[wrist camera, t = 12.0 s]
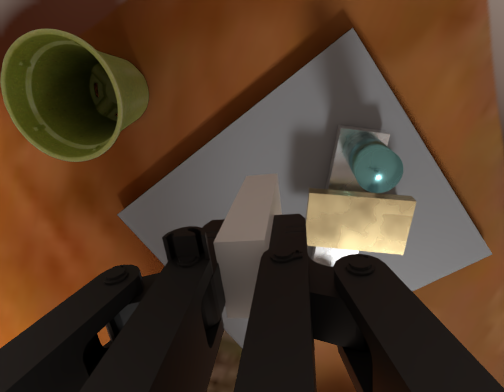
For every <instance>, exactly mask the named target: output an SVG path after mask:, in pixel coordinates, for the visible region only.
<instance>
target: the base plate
mask: <svg viewBox="0 0 504 392" xmlns="http://www.w3.org/2000/svg"><path fill="white" fill-rule="evenodd" d="M338 125H344V126H352V127H359V128H367V129H375V130H383V131H386V132H388V133H389V134H390V137H389V141H388V145H387V146H388V147H389V148H390V149H391V150H392V151H393V152H394V153H396V154H397V155H398V156H399V157H400V159H401V161H402V163H403V175H402V178H401V180H400V181H399V183H398V184H397V185H396V186H395V187H394V188H392V189H391V190H389V191H386V192H383V193H380V194H393V195H406V196H412V197H413V198H414V199H415V200H416V201H417V202H416V206H415V210H414V214H413V218H412V222H411V226H410V230H409V234H408V238H407V242H406V246H405V250H404V254H403V255H399V254H388V253H378V252H368V251H359V252H358V254H366V255H370V256H373V257H376V258H379V259H380V260H381V261H383V262H384V263H386V265H387V266H388V267H389V268H390V269H391V270H392V271H393V272H394V273H395V274H396V275H397V276H398V277H399V278H400V279H401V280H402V281H403V282H404V284H405V285H406V286H407V287H408V288H409V289H410V290H411V291H414V290H416V289H418V288H421V287H423V286H425V285H427V284H429V283H431V282H433V281H436V280H438V279H440V278H442V277H444V276H446V275H449V274H451V273H453V272H455V271H457V270H459V269H462V268H464V267H466V266H468V265H470V264H472V263H474V262H477V261H479V260H481V259H483V258H485V257H487V256H490V255H492V253H491V251H490V250H489V248H488V246H487V245H486V243H485V241H484V240H483V238H482V237H481V235H480V233H479V232H478V230H477V228H476V227H475V225H474V224H473V222H472V220H471V219H470V217H469V215H468V214H467V212H466V211H465V209H464V207H463V206H462V204H461V203H460V201H459V199H458V198H457V196H456V194H455V193H454V191H453V190H452V188H451V186H450V185H449V183H448V181H447V180H446V178H445V177H444V175H443V173H442V172H441V170H440V168H439V167H438V165H437V164H436V162H435V160H434V159H433V157H432V155H431V154H430V152H429V151H428V149H427V147H426V146H425V144H424V143H423V141H422V139H421V138H420V136H419V134H418V133H417V131H416V130H415V128H414V126H413V125H412V123H411V121H410V120H409V118H408V117H407V115H406V113H405V112H404V110H403V108H402V107H401V105H400V104H399V102H398V100H397V99H396V97H395V95H394V94H393V92H392V91H391V89H390V87H389V86H388V84H387V82H386V81H385V79H384V78H383V76H382V74H381V73H380V71H379V70H378V68H377V66H376V65H375V63H374V61H373V60H372V58H371V57H370V55H369V53H368V52H367V50H366V48H365V47H364V45H363V44H362V42H361V40H360V39H359V37H358V35H357V34H356V32H355V31H354V29H353V28H352V29H350V30H349V31H348V32H346V33H345V34H344V35H343V36H341V37H340V38H339V39H338V40H336V41H335V42H334V43H333V44H331V45H330V46H329V47H328V48H326V49H325V50H324V51H322V52H321V53H320V54H319V55H317V56H316V57H315V58H314V59H312V60H311V61H310V62H309V63H307V64H306V65H305V66H304V67H302V68H301V69H300V70H299V71H297V72H296V73H295V74H294V75H292V76H291V77H290V78H289V79H287V80H286V81H285V82H283V83H282V84H281V85H280V86H278V87H277V88H276V89H275V90H273V91H272V92H271V93H270V94H268V95H267V96H266V97H265V98H263V99H262V100H261V101H260V102H258V103H257V104H256V105H255V106H253V107H252V108H251V109H249V110H248V111H247V112H246V113H244V114H243V115H242V116H241V117H239V118H238V119H237V120H236V121H234V122H233V123H232V124H231V125H229V126H228V127H227V128H226V129H224V130H223V131H222V132H221V133H219V134H218V135H217V136H215V137H214V138H213V139H212V140H210V141H209V142H208V143H207V144H205V145H204V146H203V147H202V148H200V149H199V150H198V151H197V152H195V153H194V154H193V155H192V156H190V157H189V158H188V159H187V160H185V161H184V162H183V163H181V164H180V165H179V166H178V167H176V168H175V169H174V170H173V171H171V172H170V173H169V174H168V175H166V176H165V177H164V178H163V179H161V180H160V181H159V182H158V183H156V184H155V185H154V186H153V187H151V188H150V189H149V190H147V191H146V192H145V193H144V194H142V195H141V196H140V197H139V198H137V199H136V200H135V201H134V202H132V203H131V204H130V205H129V206H127V207H126V208H125V209H124V210H122V211H121V212H120V213H119V214H117V215H118V216H119V217H120V218H121V219H122V221H123V222H124V223H125V224H126V225H127V226H128V227H129V228H130V229H131V230H132V231H133V232H134V233H135V234H136V235H137V237H138V238H139V239H140V240H141V241H142V242H143V243H144V244H145V245H146V246H147V247H148V248H149V249H150V250H151V251H152V253H153V254H154V255H155V256H156V257H157V258H158V259H159V260H160V261H161V262H162V263H163V264H164V265H166V264H167V262H168V260H167V256H166V252H165V248H164V244H163V240H162V237H163V236H164V235H165V234H167V233H168V232H170V231H173V230H175V229H178V228H182V227H188V226H198V227H201V228H203V226H204V225H206V224H207V223H208V222H210V221H211V220H220V219H225V218H226V216H227V214H228V212H229V210H230V208H231V206H232V204H233V202H234V200H235V198H236V196H237V194H238V192H239V190H240V188H241V186H242V184H243V182H244V180H245V178H246V176H253V175H265V174H277V173H278V183H279V193H280V202H281V212H282V215H284V214H301V215H302V216H303V217H304V218H305V219H306V211H307V201H308V192H309V188H316V189H325V188H326V184H327V179H328V174H329V169H330V164H331V159H332V155H333V150H334V145H335V140H336V135H337V130H338ZM313 247H314V246H308V256H309V257H310V258H311V256H312V251H313ZM222 318H223V323H224V329H225V330H226V332H227V333H228V334H229V335H230V336H231V337H232V338H233V339H234V340H235V341H236V342H237V343H238V344H239V345H240V346H241V348H242V349H243V344H244V339H245V334H246V329H247V324H248V319H249V318H227V313H226V307H225V306H224V309H223V313H222Z"/></svg>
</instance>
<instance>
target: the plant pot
mask: <svg viewBox="0 0 504 392" xmlns="http://www.w3.org/2000/svg"><path fill="white" fill-rule="evenodd" d="M95 83H97V84H98V95H99V97H97V96H96V94H95V90H94V84H95ZM1 90H2V95H3V99H4V103H5V106H6V109H7V111H8V113H9V114H10V117H11V119H12V121H13V123H14V124H15V126H16V127H17V129H18V130H19V131H20V132H21V133H22V134H23V136H24V137H25V138H26V139H27V140H28V141H29V142H30V143H31V144H32V145H34V146H35V147H36V148H38V149H39V150H40V151H42V152H44V153H46V154H47V155H49V156H51V157H54V158H57V159H60V160H64V161H70V162H81V161H87V160H91V159H94V158H96V157H98V156H100V155H102V154H103V153H105V152H106V151H107V150H108V149H110V148H111V147H112V145H113V144H114V143H115V141H116V140H117V138H118V136H119V134H120V131H122V130H123V129H124V128H126V127H127V126H129V125H130V124H132V123H133V122H134V121H136V120H137V119H139V118H140V117H141V116H142V114H143V113H144V111H145V110H146V108H147V105H148V101H149V91H148V86H147V83H146V80H145V78H144V76H143V75H142V74H141V73H140V71H139V70H138V69H137V68H136V67H135V66H134V65H133V64H132V63H130V62H129V61H127V60H125V59H122V58H119V57H115V56H112V55H109V54H106V53H103V52H99V51H97V50H95V49H94V48H93V47H92V46H91V45H90V44H88V43H87V42H86V41H84V40H83V39H81V38H79V37H77V36H75V35H73V34H70V33H68V32H65V31H61V30H56V29H37V30H33V31H30V32H28V33H26V34H24V35H22V36H21V37H19V38H18V39H17V40H16V41H15V42H14V43H13V44H12V45H11V46H10V48H9V50H8V51H7V53H6V55H5V57H4V60H3V64H2V71H1ZM116 113H118V117H117V116H116V115H115V114H116Z"/></svg>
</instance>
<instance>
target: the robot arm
mask: <svg viewBox="0 0 504 392" xmlns="http://www.w3.org/2000/svg"><path fill="white" fill-rule="evenodd" d="M162 240H163V244H164V248H165V252H166V256H167V260H168V262H167V264H166V265H165V267H164V268H163V270H162V271H161V273H157V274H152V275H148V276H144V277H142V276H141V272H140V269H139V268H138V267H137V266H134V265H120V266H115V267H113V268H111V269H109V270H107V271H105V272H103V273H102V274H100V275H98V276H97V277H96V278H94V279H93V280H92V281H90V282H89V283H88V284H86V285H85V286H84V287H82V288H81V289H80V290H78V291H77V292H76V293H74V294H73V295H72V296H70V297H69V298H68V299H66V300H65V301H64V302H62V303H61V304H60V305H58V306H57V307H55V308H54V309H53V310H51V311H50V312H49V313H47V314H46V315H45V316H43V317H42V318H41V319H39V320H38V321H37V322H35V323H34V324H33V325H31V326H30V327H29V328H27V329H26V330H25V331H23V332H22V333H21V334H19V335H18V336H17V337H15V338H14V339H13V340H11V341H10V342H8V343H7V344H6V345H4V346H3V347H2V348H0V392H206V391H207V388H208V384H209V381H210V377H211V373H212V370H213V366H214V363H215V359H216V356H217V352H218V349H219V345H220V342H221V338H222V335H223V331H224V323H223V318H222V313H223V309H224V306H225V307H226V313H227V318H249V319H248V324H247V329H246V334H245V339H244V344H243V349H242V354H241V359H240V364H239V369H238V374H237V379H236V384H235V389H234V392H317V388H316V371H315V354H314V350H315V348H314V339H317V340H320V341H324V342H328V343H331V344H335V345H337V347H338V352H339V354H340V356H341V358H342V361H343V363H344V365H345V367H346V369H347V372H348V374H349V376H350V378H351V380H352V382H353V385H354V387H355V389H356V391H357V392H504V388H503V387H502V386H501V385H500V384H499V383H498V382H497V381H496V380H495V379H494V377H493V376H492V375H491V374H490V373H489V372H488V371H487V370H486V369H485V368H484V367H483V366H482V365H481V364H480V363H479V362H478V361H477V360H476V358H475V357H474V356H473V355H472V354H471V353H470V352H469V351H468V350H467V349H466V348H465V347H464V346H463V345H462V344H461V343H460V342H459V341H458V339H457V338H456V337H455V336H454V335H453V334H452V333H451V332H450V331H449V330H448V329H447V328H446V327H445V326H444V325H443V324H442V323H441V322H440V320H439V319H438V318H437V317H436V316H435V315H434V314H433V313H432V312H431V311H430V310H429V309H428V308H427V307H426V306H425V305H424V304H423V303H422V301H421V300H420V299H419V298H418V297H417V296H416V295H415V294H414V293H413V292H412V291H411V290H410V289H409V288H408V287H407V286H406V285H405V284H404V282H403V281H402V280H401V279H400V278H399V277H398V276H397V275H396V274H395V273H394V272H393V271H392V270H391V269H390V268H389V267H388V266H387V265H386V263H384V262H383V261H381V260H380V259H379V258H376V257H373V256H370V255H366V254H351V255H347V256H343V257H341V258H340V259H338V260H337V261H336V262H335V264H334V266H333V267H332V266H326V265H322V264H319V263H317V262H315V261H313V260H312V259H311V258H310V257H309V256H308V245H307V232H306V219H305V218H304V217H303V216H302V215H301V214H284V215H282V212H281V202H280V193H279V183H278V173H277V174H265V175H253V176H246V178H245V180H244V182H243V184H242V186H241V188H240V190H239V192H238V194H237V196H236V198H235V200H234V202H233V204H232V206H231V208H230V210H229V212H228V214H227V216H226V218H225V219H220V220H211V221H210V222H208V223H207V224H206V225H204V226H203V228H201V227H198V226H188V227H182V228H178V229H175V230H173V231H170V232H168V233H167V234H165V235H164V236H163V237H162ZM105 325H106V328H107V331H108V334H109V337H110V341H109V342H108V343H107V344H105V345H104V346H102V345H101V343H100V340H99V338H98V335H97V333H98V332H99V331H100V330H101V329H102V328H103V327H104V326H105Z"/></svg>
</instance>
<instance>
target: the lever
mask: <svg viewBox="0 0 504 392" xmlns="http://www.w3.org/2000/svg"><path fill="white" fill-rule="evenodd" d="M389 137H390V134H389V133H388V132H386V131H383V130H375V129H367V128H359V127H352V126H344V125H338V130H337V135H336V140H335V145H334V150H333V155H332V159H331V164H330V169H329V174H328V179H327V184H326V188H325V189H329V190H342V191H354V192H367V193H383V192H386V191H389V190H391V189H392V188H394V187H395V186H396V185H397V184H398V183H399V181H400V180H401V178H402V175H403V163H402V161H401V159H400V157H399V156H398V155H397V154H396V153H394V152H393V151H392V150H391V149H390V148H389V147H388V146H387V145H388V141H389ZM358 252H359V251H357V250H347V249H337V248H326V247H316V246H314V247H313V251H312V256H311V259H312V260H313V261H315V262H317V263H319V264H322V265H326V266H332V267H333V266H334V264H335V262H336V261H337V260H338V259H340V258H341V257H343V256H347V255H351V254H358Z"/></svg>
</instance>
